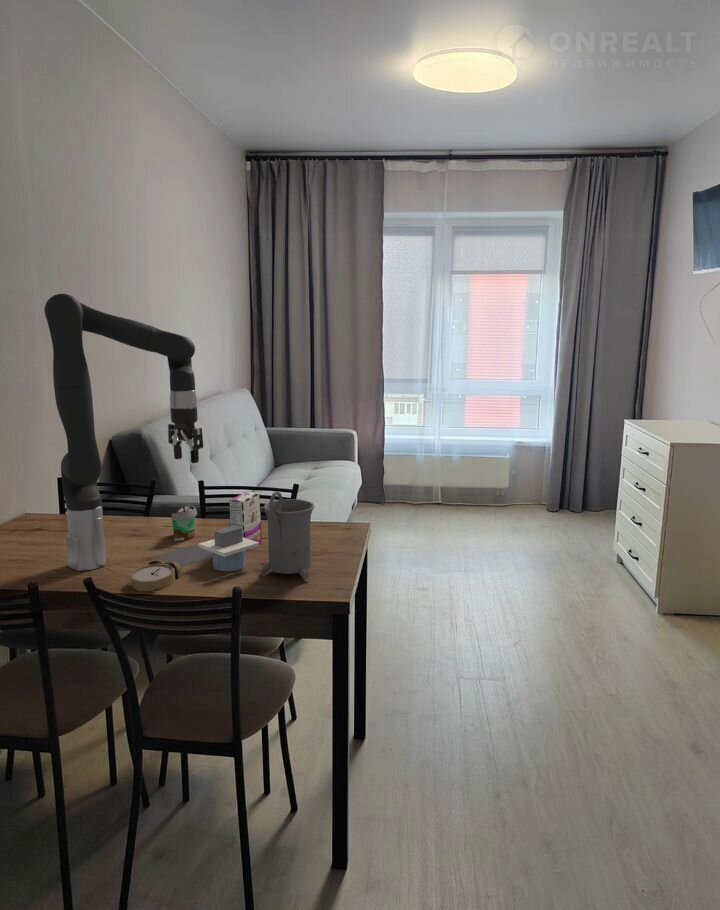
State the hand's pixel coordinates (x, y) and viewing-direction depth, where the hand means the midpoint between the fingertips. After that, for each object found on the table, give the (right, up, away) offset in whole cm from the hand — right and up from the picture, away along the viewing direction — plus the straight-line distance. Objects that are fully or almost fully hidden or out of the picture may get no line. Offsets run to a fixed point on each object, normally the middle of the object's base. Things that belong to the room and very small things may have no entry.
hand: (186, 460), depth 199 cm
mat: (0, -28, +1) cm, 28 cm away
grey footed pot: (+31, -31, -13) cm, 46 cm away
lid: (+14, -24, -8) cm, 29 cm away
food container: (-4, -25, +18) cm, 32 cm away
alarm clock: (-3, -33, -18) cm, 37 cm away
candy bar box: (+16, -27, +10) cm, 33 cm away
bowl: (+14, -30, -7) cm, 34 cm away
